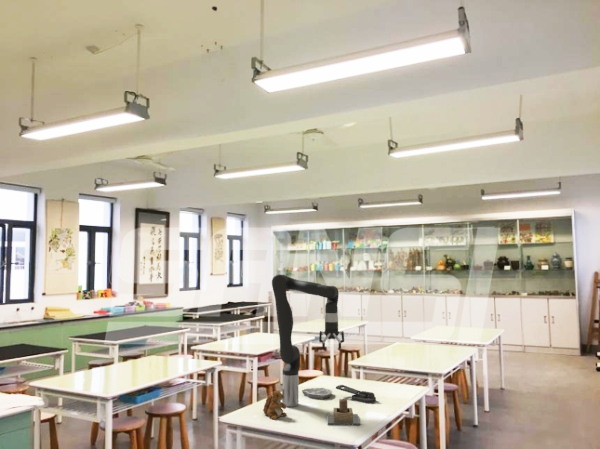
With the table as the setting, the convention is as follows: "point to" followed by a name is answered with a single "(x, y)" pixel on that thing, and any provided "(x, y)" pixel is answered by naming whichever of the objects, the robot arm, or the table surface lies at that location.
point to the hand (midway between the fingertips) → (331, 349)
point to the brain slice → (317, 393)
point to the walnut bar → (342, 405)
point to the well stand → (343, 418)
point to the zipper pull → (359, 394)
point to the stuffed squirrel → (274, 405)
